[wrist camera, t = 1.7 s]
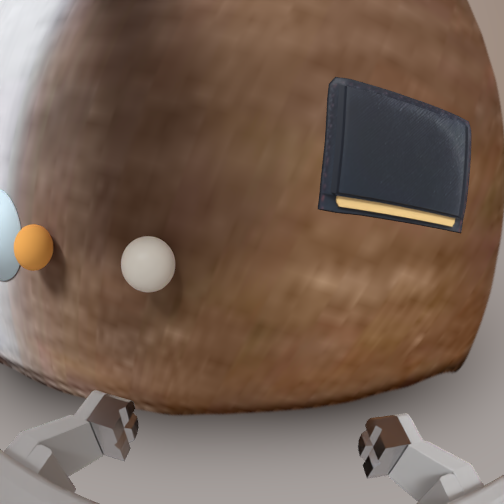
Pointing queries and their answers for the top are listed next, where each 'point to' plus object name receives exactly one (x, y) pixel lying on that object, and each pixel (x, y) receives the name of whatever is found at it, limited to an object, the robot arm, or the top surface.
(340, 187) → the wallet
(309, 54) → the top surface
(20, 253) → the orange ball
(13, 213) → the light blue disc
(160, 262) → the white ping pong ball
